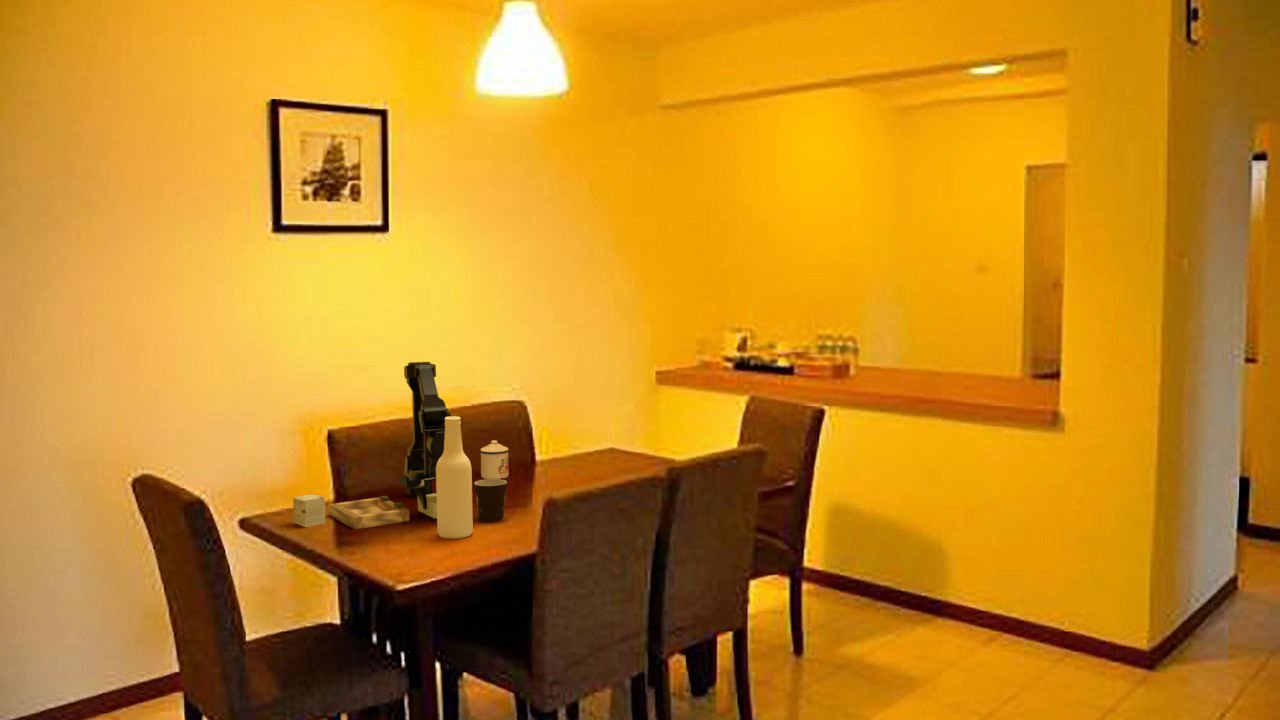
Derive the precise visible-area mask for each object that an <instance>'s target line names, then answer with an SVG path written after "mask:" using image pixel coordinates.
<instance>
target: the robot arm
mask: <svg viewBox="0 0 1280 720" xmlns="http://www.w3.org/2000/svg"><path fill="white" fill-rule="evenodd" d="M403 368H404V369H403V372H404V373H403V374H404V375H403V376H404V379H405V380H406V384H407V385H408V387H409V389H410V390H411V393H412V394H411V397H412V398H411V401H412V406H411V407H412V441H411V442H410V445H409V446H408V448H407V455H406V456H405V460H404V467H403V469H404V473H402V474H400V475H399V477H398V478H399V479H398V482H399V485H401V486H403V487H405V488H406V492H405V493H406V495H408V496H410V497H412V498H418V497H419V500H420V502H421V504H422V506H423V509H424V510H426V509H427V500H426V495H429V494H436V493H435V492H433V481H436V465H437V462H438V460H439V458H440V457H441V456H442V455H443V451H444V438H445V418H446V417H450V416H452V415H451V411H449V408H447V406H446V402H445V400H443V399H442V398H440V396H439V393H438V389H437V385H436V380H435V378H436V377H437V369H436V368H437V365H436V364H434V363H431V362H430V361H415V362H414V361H412V362H411V361H410V362H408V363H407V365H405V366H404V367H403Z"/></svg>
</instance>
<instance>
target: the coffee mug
mask: <svg viewBox="0 0 1280 720" xmlns="http://www.w3.org/2000/svg"><path fill="white" fill-rule="evenodd" d="M473 484H474V491H475V499H476V506H477V512H478V521H480V520H481V521H480V522H482V521H486V522H485V523H494V522H493V521H498V522H500V521H499V520H501V521H503V520H504V518H505V517H504V516H505V515H504V514H505V505H506V495H507V494H506V493H507V485H508V481H507V480H504V479H480V480H476V481H475V482H474V483H473ZM502 519H503V520H502Z"/></svg>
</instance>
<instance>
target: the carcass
mask: <svg viewBox="0 0 1280 720" xmlns="http://www.w3.org/2000/svg"><path fill="white" fill-rule="evenodd" d="M328 515H329V516H330V517H331V516H332V518H333V517H334V518H333V519H335V518H336V519H335V520H337V521H339V522H340V521H341V522H340V523H343V524H344V525H346V526H348V527H349V528H352V529H353V530H359V529H366V528H372V527H379V526H386V525H392V524H399V523H405V522H410V509H408V508H406V507H404V503H403V502H393V501H391V500H390V499H389V496H387V495H382V496H379V497H371V498H366V499H365V498H364V499H359V500H351V501H344V502H343V501H342V502H336V503H330V504H328Z"/></svg>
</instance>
